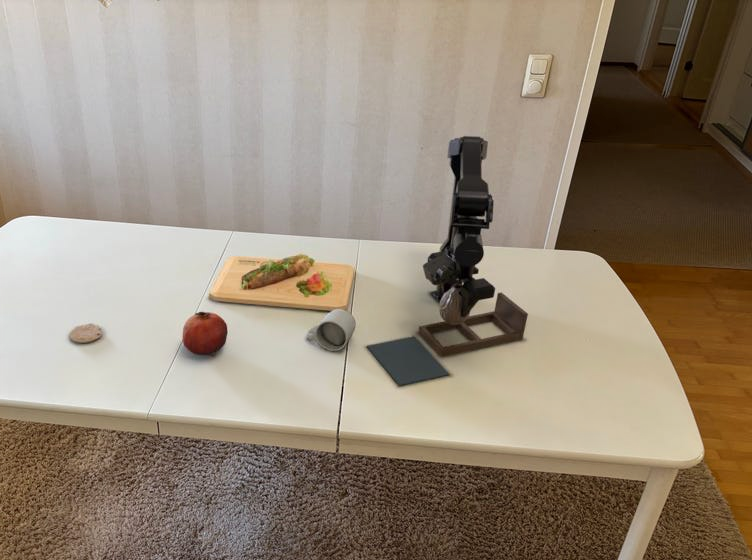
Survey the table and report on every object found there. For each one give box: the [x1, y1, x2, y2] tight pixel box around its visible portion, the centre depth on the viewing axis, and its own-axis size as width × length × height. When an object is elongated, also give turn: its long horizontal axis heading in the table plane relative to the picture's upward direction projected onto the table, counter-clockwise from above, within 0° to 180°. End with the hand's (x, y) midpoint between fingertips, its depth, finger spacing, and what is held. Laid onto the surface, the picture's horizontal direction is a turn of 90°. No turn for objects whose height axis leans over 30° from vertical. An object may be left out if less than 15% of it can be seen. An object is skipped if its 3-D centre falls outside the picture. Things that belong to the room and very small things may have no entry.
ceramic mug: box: [306, 309, 357, 352], centre depth 166 cm, size 11×8×8 cm
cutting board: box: [208, 253, 355, 312], centre depth 188 cm, size 35×23×8 cm
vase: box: [438, 284, 471, 325], centre depth 162 cm, size 7×7×9 cm
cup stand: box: [418, 291, 529, 358], centre depth 167 cm, size 11×21×7 cm, turn 109°
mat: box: [366, 336, 450, 387], centre depth 161 cm, size 16×12×1 cm
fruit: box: [181, 311, 229, 356], centre depth 163 cm, size 11×10×10 cm
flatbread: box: [68, 322, 103, 343], centre depth 171 cm, size 8×8×1 cm
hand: (454, 308), depth 163 cm, fingers closed on vase, 7 cm apart
